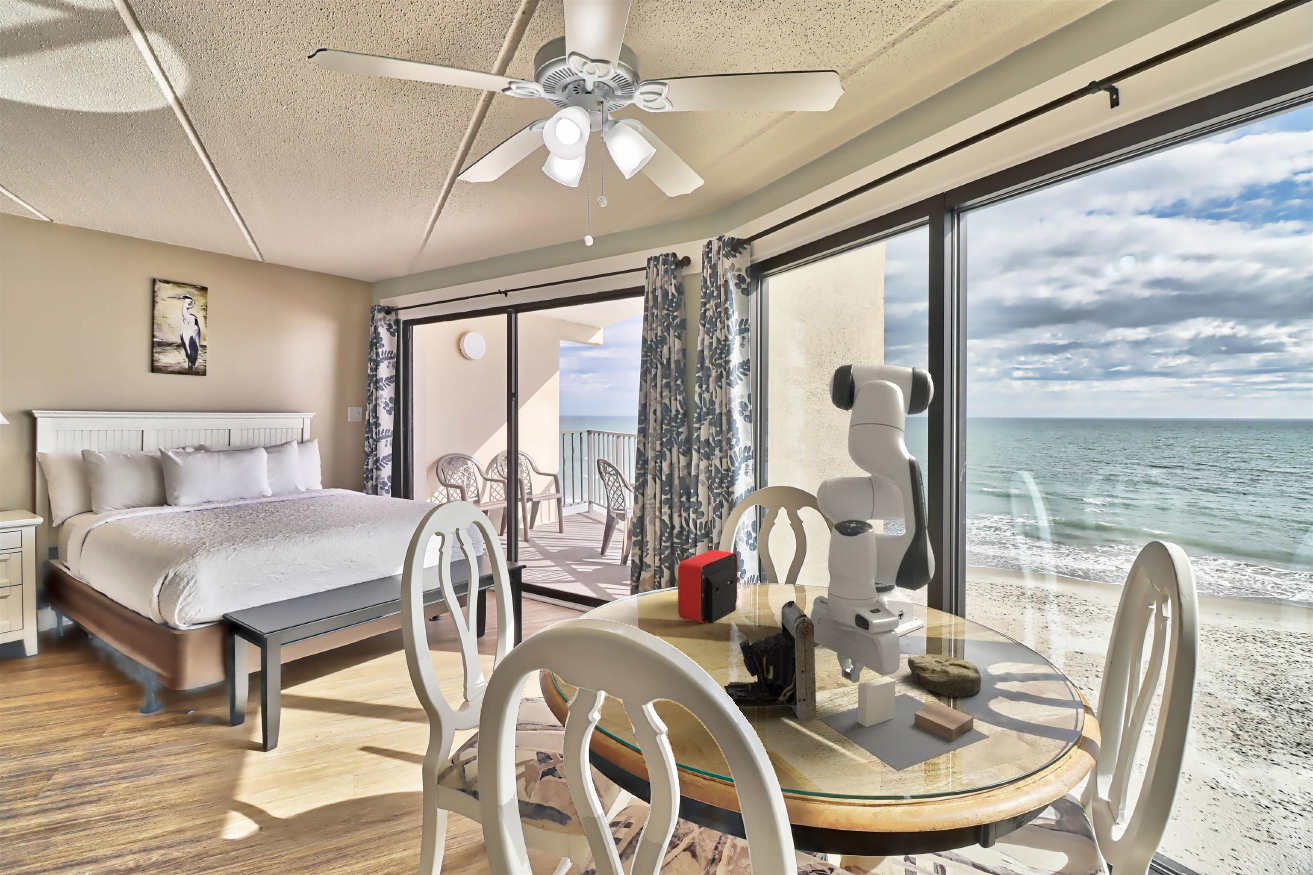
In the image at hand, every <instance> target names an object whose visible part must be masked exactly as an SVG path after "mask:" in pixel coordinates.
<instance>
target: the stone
mask: <svg viewBox="0 0 1313 875" xmlns="http://www.w3.org/2000/svg"><path fill="white" fill-rule="evenodd" d="M907 666H908V669H909V670H910V673H911V675H912V681H913V683H914V685H916V686H918V687H921V688H922V689H925V690H927V691H931V692H933V693H936V694H940V695H943V696H947V697H956V698H964V697H971V696H975V695H976V693H977V692H979V691H980V690H981V689H982V688H981V687H982V676H981V673H980V671H979V669H978V668H977V666H976V665H975V664H974V663H972V662H970V661H969V660H965V659H958V658H955V657H952V656H947V655H941V654H933V653H927V654H923V655H916V656H915V655H914V656H909V657H908V660H907Z"/></svg>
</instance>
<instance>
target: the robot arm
mask: <svg viewBox="0 0 1313 875" xmlns="http://www.w3.org/2000/svg"><path fill="white" fill-rule="evenodd" d="M828 386H829V388H828V389H829V396H830V398H831V402H832V404H833V405H834V406H835V407H836V408H838V409H841V410H843V411H846V412H849V411H851V414H850V420H849V427H848V435H847V450H848V454H849V457H850V459H851V460H852V461H853V462H854V464H855V465H856V466H858V468H860V469H861V470H863V471H865V473H868V474H869V475H870V476H839V477H838V476H837V477H833V478H828V479H825V480H823V481H822V482H821V483H820V485H819V487H818V488H817V491H816V503H817V507H818V509H819V510H820V512H821V513H822V514H823V516H825V517H826V518H828V519H829V520H830V521H831V522H832V523H833V524H834V525H833V526H832V529H831V534H830V539H829V546H828V547H829V548H828V558H827V559H828V560H827V563H828V564H827V570H828V572H829V583H828V586H827V597H825V596H823V595H819V596H817V597H815V598H814V599H813V604H812V606H813V607H812V609H811V613H810V617H809V619H810V620H811V621H812V622H813V625H814V643H817V644H818V645H821V646H822V647H825V648H827V649H828V650H829V651H833V652H834V653H836V659H837V661H838V663H839V666H840V669H841V677H842V678H844V679H845V680H848V681H849V682H852V683H853V684H855V683H858V682H860V680H861V678H860V673H861V672H862V671H863V669H864V668H866V669H868V670H871V671H872V672H874V673H877V674H878V675H880V676H883V677H885V676H888V675H889V676H890V675H893V674H895V673H897V671H898V670H899V669H900V665H901V645H900V637H901V636H904V635H906V634H909V633H911V632H913V631H915V630H917V629H920V628H923V627H924V621H923V620H922V619H921V618H919V617H917V616H915V610H914V605H913V602H912V601H911V599H909V598H908V597H907V596H905V595H904V594H903V593H902V592H901V591H900V590H898V589H897V588H901V589H906V590H910V591H918V590H920V589H922V588H923V587H925V586H926V585H928V584H930V583H931V582H932V580H933V577H934V574H935V569H936V567H935V566H936V565H935V564H936V562H935V556H934V553H933V552H934V551H933V548H932V543H931V539H930V531H929V530H930V529H929V523H928V522H929V521H928V514H927V513H928V512H927V504H926V496H925V489H924V482H923V474H922V470H921V466H920V463H919V461H918V459H917V457H915V456H913V455H912V454H910V453H909V450H908V449H907V447H906V443H905V430H906V414H907V415H908V416H909V415H910V416H911V415H917V414H922V413H924V411H926V410H927V409H928V408H929V405H930V403H931V402H932V400H933V398H934V391H935V388H934V383H933V380H932V375H931V374H930V373H929V371H928V370H926V369H924V368H920V367H915V366H913V367H912V368H911V367H907V366H901V365H895V364H894V365H893V364H862V365H861V364H859V365H854V364H846V365H841V366H840V365H839V367H837V369H835V370H834V374H832V377H831V379H830V382H829V385H828ZM870 520H872V521H875V520H877V521H878V520H879V521H898V520H904V526H905V527H904V528H905V533H904V534H901V535H896V534H895V535H893V534H884V533H877V532H875V528H874V526H873V525H872V524H871V523H870V522H867V521H870ZM896 587H897V588H896Z"/></svg>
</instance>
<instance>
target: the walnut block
mask: <svg viewBox="0 0 1313 875" xmlns="http://www.w3.org/2000/svg"><path fill="white" fill-rule="evenodd" d="M974 718H975V717H974V716H972V715H969V714H967V713H966V712H965V713H964V712H962V711H959V710H957V709H954V708H953V707H950V706H947V705H944V704H941V703H940V702H937V701H935V702H934V701H933V703H931V704H929V706H927V707H925V708H923V709H921V710H920V711H918V712H916V713H915V722H914V724H915V725H918V726H920V727H922V728H925V729H927V730H929V731H931V732H934V733H936V734H938V735H940V736H943V737H945V738H947V739H949V740H952V741H954V740H955V739H957V738H958V737H960V736H962V735H963V734H965V733H966V732H968V731H969V730H971V729H973V728H974V720H975V719H974Z"/></svg>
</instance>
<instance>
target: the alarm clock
mask: <svg viewBox="0 0 1313 875" xmlns="http://www.w3.org/2000/svg"><path fill="white" fill-rule="evenodd" d="M737 601H738V554H737V553H736V552H732V551H731V552H730V551H724V550H719V549H718V550H717V549H711V550H707V551H705V552H704V553H700V554H697V555H694V556H693V557H689V558H687V559H684V560H682V561H681V562H680V563H679V564H678V568H677V614H678V616H679V618H682V619H686V620H691V621H694V622H698V623H709V624H713V623H715V622H717V621H719V620H722V619H723V618H725V617H727V616H728V615H730V614H732V613H733V612H735V611H736V610H737V603H738V602H737Z"/></svg>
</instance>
